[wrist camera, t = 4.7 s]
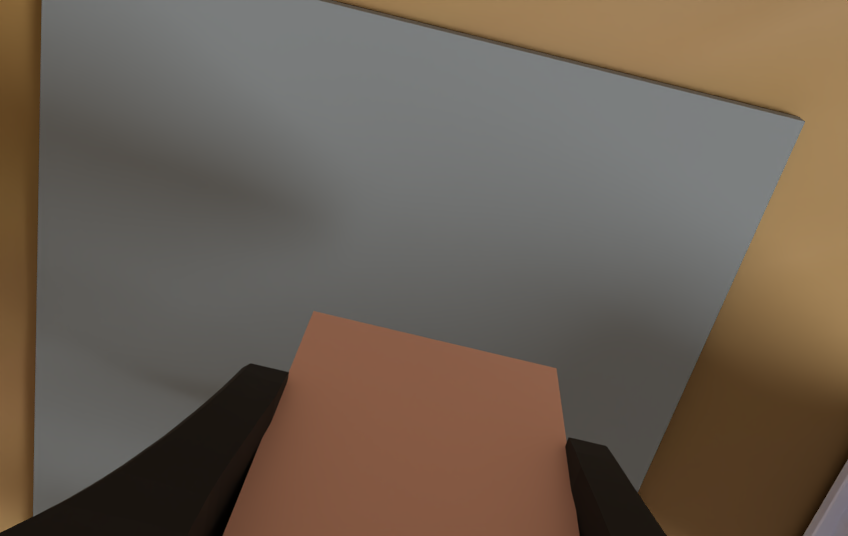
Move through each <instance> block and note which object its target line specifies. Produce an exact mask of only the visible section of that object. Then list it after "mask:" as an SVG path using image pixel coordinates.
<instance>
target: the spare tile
mask: <svg viewBox="0 0 848 536" xmlns="http://www.w3.org/2000/svg"><path fill="white" fill-rule="evenodd" d="M566 443H567V441H566V434H565V427H564V419H563V412H562V405H561V398H560V390H559V383H558V376H557V369H556V368H553V367H549V366H545V365H540V364H536V363H532V362H528V361H523V360H519V359H515V358H511V357H506V356H502V355H498V354H494V353H489V352H485V351H481V350H477V349H472V348H468V347H464V346H460V345H456V344H451V343H447V342H443V341H439V340H434V339H430V338H426V337H422V336H417V335H413V334H409V333H405V332H400V331H396V330H392V329H388V328H383V327H379V326H375V325H371V324H366V323H362V322H358V321H354V320H350V319H345V318H341V317H337V316H333V315H328V314H324V313H320V312H316V311H313V313H312V316H311V318H310V321H309V323H308V326H307V328H306V331H305V333H304V336H303V338H302V341H301V343H300V346H299V348H298V351H297V353H296V356H295V358H294V360H293V363H292V365H291V368H290V370H289V375H288V381H287V384H286V386H285V389H284V391H283V394H282V396H281V399H280V401H279V404H278V406H277V409H276V411H275V414H274V416H273V419H272V421H271V423H270V425H269V427H268V429H267V431H266V432H265V434H264V436H263V438H262V440H261V442H260V445H259V447H258V449H257V452H256V454H255V457H254V459H253V462H252V464H251V467H250V469H249V472H248V474H247V477H246V479H245V482H244V484H243V487H242V489H241V491H240V494H239V496H238V499H237V501H236V504H235V506H234V509H233V511H232V514H231V516H230V519H229V521H228V524H227V526H226V529H225V531H224V534H223V536H580V535H579V528H578V521H577V514H576V508H575V504H574V500H573V496H572V492H571V486H570V478H569V471H568V463H567V456H566V449H565V446H566Z"/></svg>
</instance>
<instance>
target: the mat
mask: <svg viewBox="0 0 848 536" xmlns="http://www.w3.org/2000/svg"><path fill="white" fill-rule="evenodd" d="M804 123H805V121H804V120H802V119H801V118H800V117H798V116H794V115H789V114H785V113H781V112H777V111H773V110H769V109H765V108H761V107H757V106H753V105H749V104H745V103H741V102H737V101H733V100H729V99H725V98H721V97H717V96H713V95H709V94H705V93H701V92H697V91H693V90H689V89H685V88H681V87H677V86H673V85H669V84H665V83H661V82H657V81H653V80H649V79H645V78H641V77H637V76H633V75H629V74H625V73H621V72H617V71H613V70H609V69H605V68H601V67H597V66H593V65H589V64H585V63H581V62H577V61H573V60H569V59H565V58H561V57H557V56H553V55H549V54H545V53H541V52H537V51H533V50H529V49H525V48H521V47H517V46H513V45H509V44H505V43H501V42H497V41H493V40H489V39H485V38H481V37H477V36H473V35H469V34H465V33H461V32H457V31H453V30H449V29H445V28H441V27H437V26H433V25H429V24H425V23H421V22H417V21H413V20H409V19H405V18H401V17H397V16H393V15H389V14H385V13H381V12H377V11H373V10H369V9H365V8H361V7H357V6H352V5H348V4H344V3H340V2H336V1H332V0H42V17H41V75H40V134H39V193H38V252H37V311H36V370H35V429H34V488H33V516H35V515H37V514H39V513H41V512H43V511H45V510H47V509H49V508H51V507H53V506H55V505H57V504H58V503H60V502H62V501H64V500H66V499H68V498H70V497H71V496H73V495H75V494H76V493H78V492H80V491H82V490H83V489H85V488H87V487H88V486H90V485H92V484H94V483H95V482H97V481H98V480H100V479H102V478H103V477H105V476H106V475H108V474H110V473H111V472H113V471H114V470H116V469H117V468H119V467H120V466H122V465H123V464H125V463H126V462H128V461H129V460H131V459H132V458H133V457H135V456H136V455H138V454H139V453H140V452H142V451H143V450H145V449H146V448H147V447H149V446H150V445H152V444H153V443H155V442H156V441H157V440H159V439H160V438H161V437H163V436H164V435H165V434H167V433H168V432H169V431H171V430H172V429H173V428H174V427H176V426H177V425H178V424H179V423H181V422H182V421H183V420H184V419H186V418H187V417H188V416H189V415H190V414H192V413H193V412H194V411H195V410H197V409H198V408H199V407H200V406H201V405H203V404H204V403H205V402H206V401H207V400H208V399H209V398H211V397H212V396H213V395H214V394H215V393H216V392H217V391H218V390H220V389H221V388H222V387H223V386H224V385H225V384H226V383H227V382H228V381H229V380H230V379H231V378H232V377H233V376H234V375H235V374H236V373H237V372H238V371H239V370H240V369H241V368H243V367H244V366H246V365H248V364H250V363H252V364H256V365H261V366H265V367H269V368H274V369H278V370H282V371H286V372H289V370H290V368H291V365H292V363H293V360H294V358H295V356H296V353H297V351H298V348H299V346H300V343H301V341H302V338H303V336H304V333H305V331H306V328H307V326H308V323H309V321H310V318H311V316H312V313H313V311H316V312H320V313H324V314H328V315H333V316H337V317H341V318H345V319H350V320H354V321H358V322H362V323H366V324H371V325H375V326H379V327H383V328H388V329H392V330H396V331H400V332H405V333H409V334H413V335H417V336H422V337H426V338H430V339H434V340H439V341H443V342H447V343H451V344H456V345H460V346H464V347H468V348H472V349H477V350H481V351H485V352H489V353H494V354H498V355H502V356H506V357H511V358H515V359H519V360H523V361H528V362H532V363H536V364H540V365H545V366H549V367H553V368H556V369H557V376H558V383H559V390H560V398H561V405H562V412H563V419H564V427H565V434H566V441H567V440H568V438H569V437H570V438H575V439H579V440H583V441H588V442H592V443H596V444H600V445H605V446H607V447H608V449H609V450H610V452H611V453H612V454H613V456H614V457H615V459H616V460H617V462H618V463H619V465H620V467H621V468H622V470H623V471H624V473H625V474H626V476H627V477H628V479H629V480H630V482H631V483H632V485H633V487H634V488H635V490H636V491H637V493H638V491H639V489H640V486H641V484H642V482H643V480H644V478H645V475H646V473H647V471H648V469H649V466H650V464H651V462H652V460H653V458H654V455H655V453H656V451H657V449H658V446H659V444H660V442H661V440H662V438H663V435H664V433H665V431H666V429H667V427H668V424H669V422H670V420H671V418H672V415H673V413H674V411H675V409H676V407H677V404H678V402H679V400H680V398H681V395H682V393H683V391H684V389H685V387H686V384H687V382H688V380H689V378H690V376H691V373H692V371H693V369H694V367H695V364H696V362H697V360H698V358H699V356H700V353H701V351H702V349H703V347H704V344H705V342H706V340H707V338H708V336H709V333H710V331H711V329H712V327H713V325H714V322H715V320H716V318H717V316H718V313H719V311H720V309H721V307H722V305H723V302H724V300H725V298H726V296H727V293H728V291H729V289H730V287H731V285H732V282H733V280H734V278H735V276H736V274H737V271H738V269H739V267H740V265H741V262H742V260H743V258H744V256H745V254H746V251H747V249H748V247H749V245H750V242H751V240H752V238H753V236H754V234H755V231H756V229H757V227H758V225H759V223H760V220H761V218H762V216H763V214H764V211H765V209H766V207H767V205H768V203H769V200H770V198H771V196H772V194H773V191H774V189H775V187H776V185H777V183H778V180H779V178H780V176H781V174H782V172H783V169H784V167H785V165H786V163H787V160H788V158H789V156H790V154H791V152H792V149H793V147H794V145H795V143H796V140H797V138H798V136H799V134H800V132H801V129H802V127H803V125H804Z"/></svg>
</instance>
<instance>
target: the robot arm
mask: <svg viewBox="0 0 848 536" xmlns="http://www.w3.org/2000/svg"><path fill="white" fill-rule="evenodd" d="M288 375H289V372H286V371H282V370H278V369H274V368H269V367H265V366H261V365H256V364H252V363H250V364H248V365H246V366H244V367H243V368H241V369H240V370H239V371H238V372H237V373H236V374H235V375H234V376H233V377H232V378H231V379H230V380H229V381H228V382H227V383H226V384H225V385H224V386H223V387H222V388H221V389H220V390H218V391H217V392H216V393H215V394H214V395H213V396H212V397H211V398H209V399H208V400H207V401H206V402H205V403H204V404H203V405H201V406H200V407H199V408H198V409H197V410H195V411H194V412H193V413H192V414H190V415H189V416H188V417H187V418H186V419H184V420H183V421H182V422H181V423H179V424H178V425H177V426H176V427H174V428H173V429H172V430H171V431H169V432H168V433H167V434H165V435H164V436H163V437H161V438H160V439H159V440H157V441H156V442H155V443H153V444H152V445H150V446H149V447H147V448H146V449H145V450H143V451H142V452H140V453H139V454H138V455H136V456H135V457H133V458H132V459H131V460H129V461H128V462H126V463H125V464H123V465H122V466H120V467H119V468H117V469H116V470H114V471H113V472H111V473H110V474H108V475H106V476H105V477H103V478H102V479H100V480H98V481H97V482H95V483H94V484H92V485H90V486H88V487H87V488H85V489H83V490H82V491H80V492H78V493H76V494H75V495H73V496H71V497H70V498H68V499H66V500H64V501H62V502H60V503H58V504H57V505H55V506H53V507H51V508H49V509H47V510H45V511H43V512H41V513H39V514H37V515H35V516H33V517H32V518H30V519H28V520H26V521H24V522H21V523H19V524H17V525H15V526H13V527H11V528H9V529H7V530H5V531H3V532H1V533H0V536H223V534H224V531H225V529H226V526H227V524H228V521H229V519H230V516H231V514H232V511H233V509H234V506H235V504H236V501H237V499H238V496H239V494H240V491H241V489H242V487H243V484H244V482H245V479H246V477H247V474H248V472H249V469H250V467H251V464H252V462H253V459H254V457H255V454H256V452H257V449H258V447H259V445H260V442H261V440H262V438H263V436H264V434H265V432H266V431H267V429H268V427H269V425H270V423H271V421H272V419H273V416H274V414H275V411H276V409H277V406H278V404H279V401H280V399H281V396H282V394H283V391H284V389H285V386H286V384H287V381H288ZM565 449H566V456H567V463H568V471H569V478H570V486H571V492H572V496H573V500H574V504H575V508H576V514H577V521H578V528H579V535H580V536H666V534H665V533H664V531H663V530H662V528H661V527H660V525H659V524H658V523H657V521H656V520H655V518H654V517H653V515H652V514H651V512H650V511H649V509H648V508H647V506H646V505H645V503H644V502H643V500H642V499H641V497H640V496H639V494H638V493H637V491H636V490H635V488H634V487H633V485H632V483H631V482H630V480H629V479H628V477H627V476H626V474H625V473H624V471H623V470H622V468H621V467H620V465H619V463H618V462H617V460H616V459H615V457H614V456H613V454H612V453H611V452H610V450H609V449H608V447H607V446H605V445H600V444H596V443H592V442H588V441H583V440H579V439H575V438H570V437H569V438H568V440H567V443H566V446H565ZM803 536H848V460H847V462H846V463H845V465H844V467H843V469H842V470H841V472H840V474H839V475H838V477H837V479H836V480H835V482H834V484H833V486H832V487H831V489H830V491H829V492H828V494H827V496H826V497H825V499H824V501H823V503H822V504H821V506H820V508H819V509H818V511H817V513H816V514H815V516H814V518H813V520H812V521H811V523H810V525H809V526H808V528H807V530H806V531H805V533H804V535H803Z"/></svg>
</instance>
